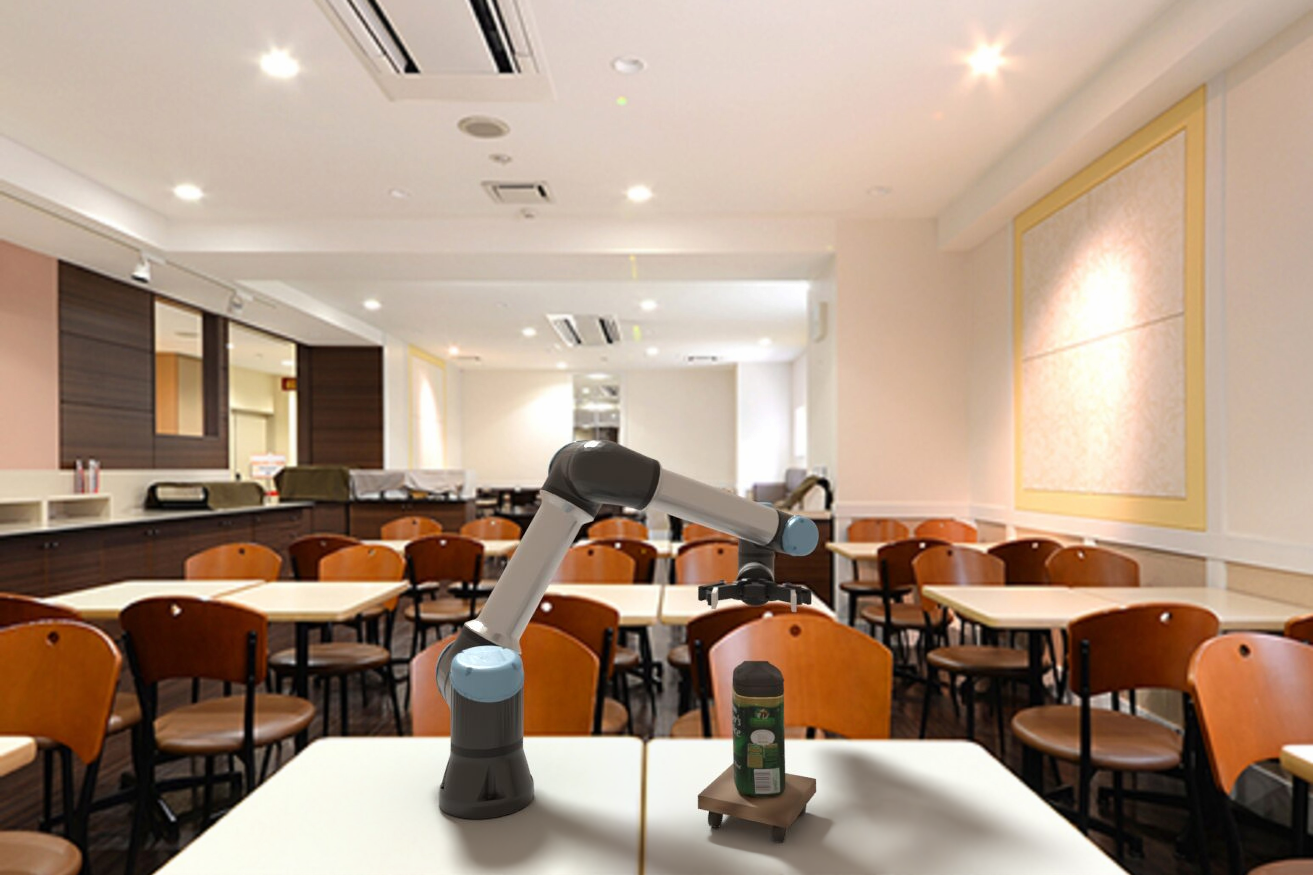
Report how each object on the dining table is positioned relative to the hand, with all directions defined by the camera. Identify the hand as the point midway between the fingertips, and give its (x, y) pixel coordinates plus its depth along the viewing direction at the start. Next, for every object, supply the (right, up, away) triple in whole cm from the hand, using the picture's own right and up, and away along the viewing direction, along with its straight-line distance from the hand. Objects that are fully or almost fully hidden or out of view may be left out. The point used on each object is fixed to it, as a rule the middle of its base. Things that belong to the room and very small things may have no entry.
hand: (753, 602), depth 135 cm
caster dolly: (-1, -30, -13) cm, 33 cm away
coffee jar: (-1, -26, -13) cm, 29 cm away
